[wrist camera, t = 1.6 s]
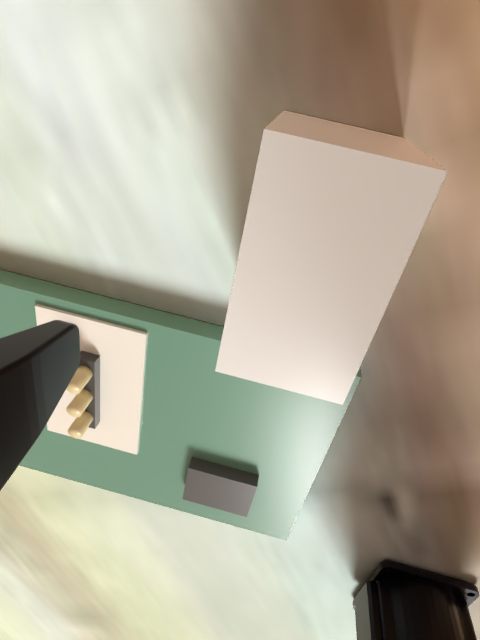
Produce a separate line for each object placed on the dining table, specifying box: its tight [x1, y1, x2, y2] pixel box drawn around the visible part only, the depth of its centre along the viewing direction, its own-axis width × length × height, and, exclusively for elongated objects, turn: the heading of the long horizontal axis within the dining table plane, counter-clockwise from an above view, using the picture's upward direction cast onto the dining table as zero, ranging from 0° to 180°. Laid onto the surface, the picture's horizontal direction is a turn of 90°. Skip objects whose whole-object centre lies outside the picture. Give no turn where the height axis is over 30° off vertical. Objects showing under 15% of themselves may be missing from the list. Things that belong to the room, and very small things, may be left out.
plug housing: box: [215, 110, 448, 405], centre depth 14 cm, size 4×8×6 cm, turn 170°
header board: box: [0, 270, 361, 540], centre depth 22 cm, size 20×14×3 cm
